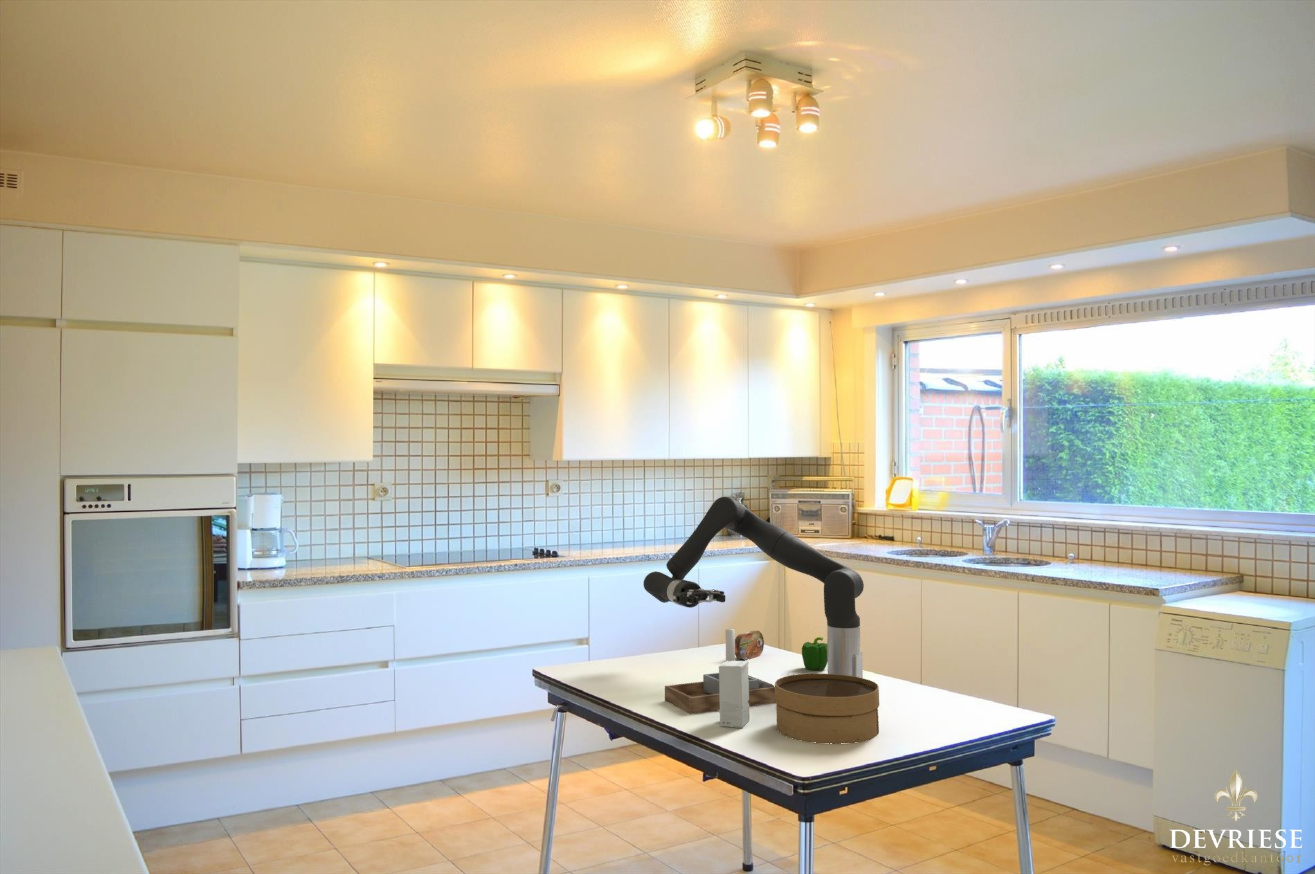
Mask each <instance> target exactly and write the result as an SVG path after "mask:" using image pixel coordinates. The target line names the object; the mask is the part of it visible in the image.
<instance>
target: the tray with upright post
mask: <svg viewBox="0 0 1315 874" xmlns="http://www.w3.org/2000/svg"><path fill="white" fill-rule="evenodd" d="M735 638H736V629H734V628H725V662H726V661H736V656H735ZM750 676H751V675H749V676H748V681H749V690H753V689H759V680H760V679H759V680H757V679H758V678H757V679H755V678H756V677H754V678H752V677H753V676H752V677H750ZM702 679H703V693H705V694H707V695H712V694H719V672H714V673H713V672H712V673H704V674H703V675H702Z"/></svg>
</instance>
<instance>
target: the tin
mask: <svg viewBox="0 0 1315 874" xmlns="http://www.w3.org/2000/svg"><path fill="white" fill-rule="evenodd" d="M764 644H765V641H764V635H763V634H762V632H761V631H760V630H750V631H747V632H743V633H740V634H738V635H736V636H735V658H737V659H738V660H739V661H749V660H751V659H754V658H758V657H760V656H761V655H762V653H763V652H764V647H765V645H764ZM748 659H749V660H748Z"/></svg>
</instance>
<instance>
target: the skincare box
mask: <svg viewBox="0 0 1315 874" xmlns="http://www.w3.org/2000/svg"><path fill="white" fill-rule="evenodd" d="M718 673H719V698H720V710H719V726H720V727H726V728H727V727H728V728H737V729H743V728H744V727H745V725H746V724H747V723H748V722H749V721H750V706H749V681H748V675H749V660H735V661H726V660H725V662H722V663H721V664H720V665H719V666H718Z"/></svg>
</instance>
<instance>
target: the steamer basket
mask: <svg viewBox="0 0 1315 874" xmlns="http://www.w3.org/2000/svg"><path fill="white" fill-rule="evenodd" d="M774 687H775V702H776V703H775V704H776V730H777V732H778V731H779V732H778V733H779V734H780V733H781V734H780V735H782V736H784V737H786V736H787V738H789V739H792V738H793V739H792V740H795V739H796V741H799V740H802V741H801V742H804V741H805V743H810V742H816V743H815V744H819V743H829V744H828V745H842V744H841V743H851V744H856V743H855V742H858V743H863V742H866V740H867V741H869V740H873V739H874V738H875V737H877V736H878V735H879V732H880V727H879V726H880V725H879V724H880V723H879V722H880V721H879V706H880V689H879V688H880V687H879V685H878V684H877V683H876V682H875V681H872V680H870V679H867V678H864V677H863V678H859V677H854V676H847V675H838V674H828V673H817V672H816V673H814V672H813V673H800V674H791V675H786V676H783V677H780V678H778V679H777V680H775V682H774ZM830 743H832V744H830Z"/></svg>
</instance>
